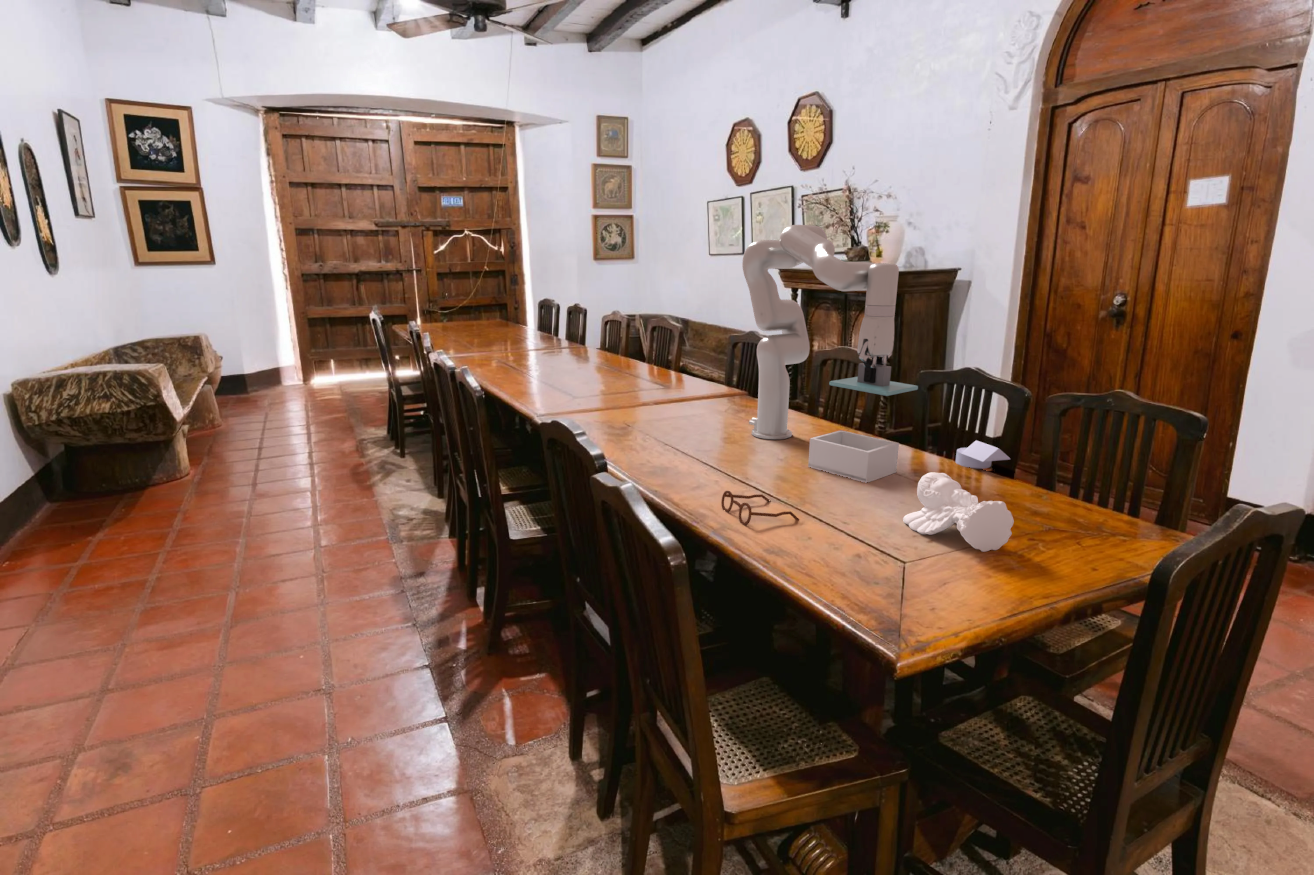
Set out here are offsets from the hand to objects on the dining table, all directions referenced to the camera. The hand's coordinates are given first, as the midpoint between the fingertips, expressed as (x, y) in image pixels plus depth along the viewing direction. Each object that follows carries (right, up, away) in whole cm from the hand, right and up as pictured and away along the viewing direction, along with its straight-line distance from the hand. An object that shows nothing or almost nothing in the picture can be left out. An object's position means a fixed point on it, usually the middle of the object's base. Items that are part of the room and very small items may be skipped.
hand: (873, 380), depth 189 cm
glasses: (-35, -33, -32) cm, 58 cm away
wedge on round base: (+30, -23, +4) cm, 38 cm away
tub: (-6, -24, 0) cm, 24 cm away
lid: (0, -2, 0) cm, 2 cm away
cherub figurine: (+3, -35, -44) cm, 56 cm away
